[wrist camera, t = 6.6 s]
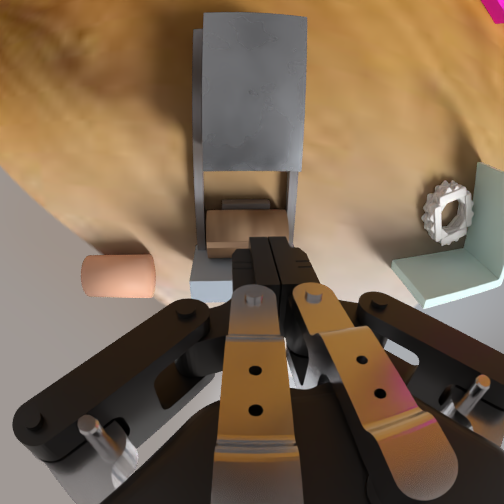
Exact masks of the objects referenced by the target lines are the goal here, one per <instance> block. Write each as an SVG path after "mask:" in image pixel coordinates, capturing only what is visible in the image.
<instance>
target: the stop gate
mask: <svg viewBox="0 0 504 504" xmlns="http://www.w3.org/2000/svg"><path fill="white" fill-rule="evenodd" d="M292 248H295V247H294V245H293V246H292ZM190 291H191V299H197V300H200V301H202V302H227V301H229V300H230V299H231V297H232V294H233V292H232V258H208V255H207V245H206V250H198V245H196V249H195V254H194V259H193V265H192V270H191V276H190Z"/></svg>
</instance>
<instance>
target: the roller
mask: <svg viewBox="0 0 504 504" xmlns="http://www.w3.org/2000/svg"><path fill="white" fill-rule="evenodd" d="M155 281H156V275H155V266H154V260H153V257H152V255H150V254H142V255H93V256H92V255H90V256H87V257H86V258H85V259H84V261H83V264H82V269H81V282H82V287H83V290H84V291H85V294H87V296H89V297H127V298H133V297H134V298H152V296H153V294H154V291H155Z"/></svg>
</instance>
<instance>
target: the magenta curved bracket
mask: <svg viewBox="0 0 504 504" xmlns="http://www.w3.org/2000/svg"><path fill="white" fill-rule="evenodd" d="M481 2H482V3H483V5H484V6H485V8H486V9H487V11H488V13H489V14H490V16H491V17H492V19H493V21H494V23H495V24H499V23H504V0H481Z"/></svg>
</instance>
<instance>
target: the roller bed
mask: <svg viewBox="0 0 504 504" xmlns="http://www.w3.org/2000/svg"><path fill="white" fill-rule="evenodd" d="M202 51H203V29H193V66H192V126H193V166H194V191H195V211H196V229H197V244H198V250H206V243H207V255H208V258H232V254H233V253H234V252H235V250H236V249H248V248H249V237H268V236H286V238H287V241H288V243H289V246H290V248H292V246H293V235H294V223H295V211H296V198H297V184H298V172H297V171H288V173H287V190H286V206H285V210H278V209H271V210H243V209H270V202H269V199H227V200H222V210H207V217H206V228H205V206H204V177H203V157H202Z"/></svg>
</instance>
